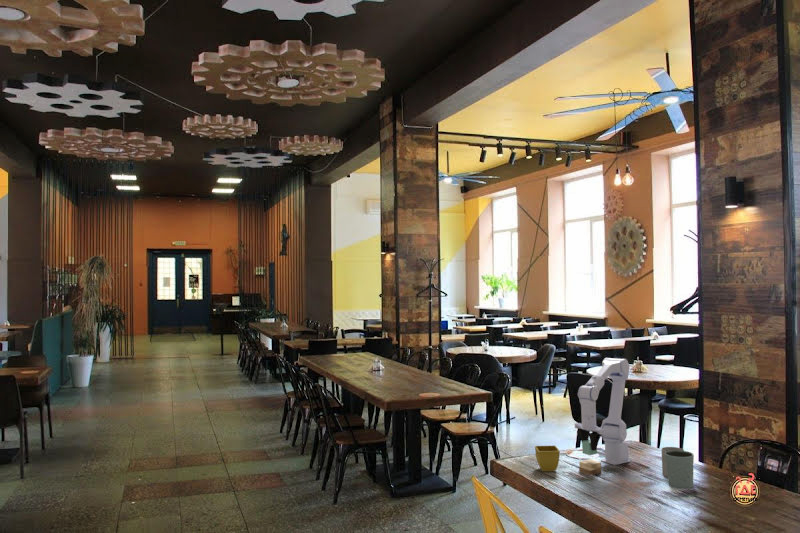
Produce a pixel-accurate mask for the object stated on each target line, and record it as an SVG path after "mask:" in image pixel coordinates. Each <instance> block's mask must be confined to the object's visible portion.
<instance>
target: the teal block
mask: <svg viewBox="0 0 800 533" xmlns="http://www.w3.org/2000/svg"><path fill="white" fill-rule="evenodd" d="M581 444H582V445H581V446H582V448H581V449H582V454H584V455H587V456H593V455H598V449H597V450H594V451H592V449H591V441H590V439H589V440H584V441H581Z"/></svg>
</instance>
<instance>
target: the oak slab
mask: <svg viewBox="0 0 800 533" xmlns="http://www.w3.org/2000/svg"><path fill="white" fill-rule="evenodd" d="M578 462H579V467H581V468H584V469H587V470H590V471H591V470H595V469H600V468H601V469H602V461H597V460H594V459H592V458H589V459H585V460H581V461H578Z"/></svg>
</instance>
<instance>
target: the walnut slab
mask: <svg viewBox="0 0 800 533" xmlns="http://www.w3.org/2000/svg"><path fill="white" fill-rule="evenodd" d="M601 470H602V467H601V468H600V469H595V470H591V471H590V470H587V469H584V468H581V467H580V466H579V467H578V472H579V473H582V474H585V475H588V476H593V475H598V474H602V473H601V472H602V471H601Z"/></svg>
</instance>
